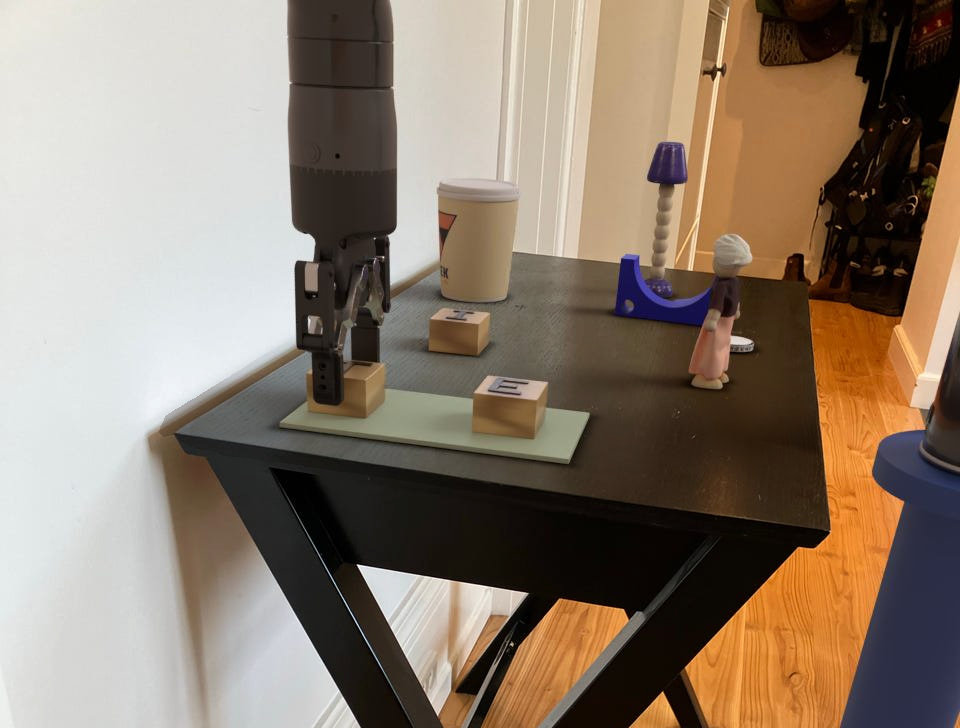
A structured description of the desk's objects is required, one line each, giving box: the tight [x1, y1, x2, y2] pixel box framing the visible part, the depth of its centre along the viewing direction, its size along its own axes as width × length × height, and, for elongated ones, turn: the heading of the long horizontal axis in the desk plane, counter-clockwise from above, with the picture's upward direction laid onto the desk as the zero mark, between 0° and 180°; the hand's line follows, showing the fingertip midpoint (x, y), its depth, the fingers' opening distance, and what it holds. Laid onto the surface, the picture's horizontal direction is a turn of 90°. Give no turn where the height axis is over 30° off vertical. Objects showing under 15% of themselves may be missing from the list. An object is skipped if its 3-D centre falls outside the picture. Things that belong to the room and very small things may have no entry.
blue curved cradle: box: [614, 253, 718, 327], centre depth 111 cm, size 12×4×6 cm, turn 72°
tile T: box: [305, 358, 386, 418], centre depth 78 cm, size 5×5×3 cm
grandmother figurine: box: [688, 233, 753, 390], centre depth 87 cm, size 8×4×13 cm, turn 162°
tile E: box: [472, 374, 549, 439], centre depth 76 cm, size 5×5×3 cm
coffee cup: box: [436, 177, 522, 304], centre depth 114 cm, size 9×9×12 cm
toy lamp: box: [644, 141, 689, 299], centre depth 118 cm, size 5×5×17 cm
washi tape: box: [730, 335, 755, 353], centre depth 102 cm, size 4×4×1 cm
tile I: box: [428, 307, 491, 357], centre depth 97 cm, size 5×5×3 cm
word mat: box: [279, 388, 591, 465], centre depth 78 cm, size 22×11×1 cm, turn 77°
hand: (348, 387), depth 79 cm, fingers open, 8 cm apart
